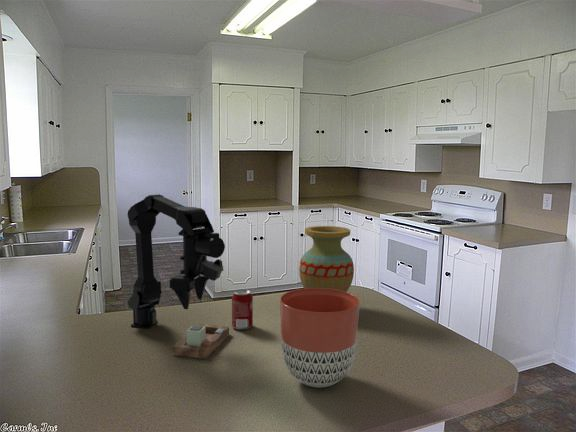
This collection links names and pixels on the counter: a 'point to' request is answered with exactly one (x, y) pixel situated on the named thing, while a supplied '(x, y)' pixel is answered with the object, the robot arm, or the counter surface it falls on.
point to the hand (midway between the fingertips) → (193, 304)
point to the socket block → (213, 340)
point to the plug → (196, 336)
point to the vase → (326, 260)
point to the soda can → (242, 309)
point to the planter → (319, 334)
